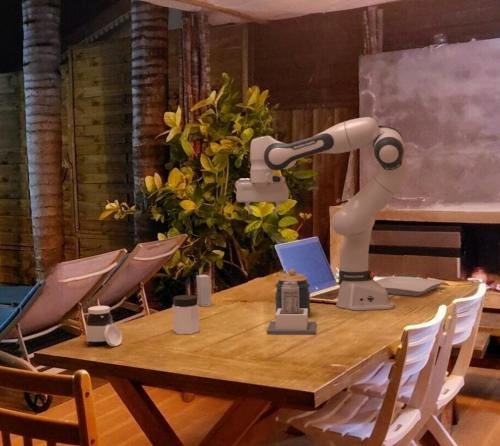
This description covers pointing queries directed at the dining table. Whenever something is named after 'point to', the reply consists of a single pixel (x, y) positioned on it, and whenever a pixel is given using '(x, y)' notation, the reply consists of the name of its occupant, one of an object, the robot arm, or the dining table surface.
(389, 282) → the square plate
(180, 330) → the jar
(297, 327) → the sleeve mount
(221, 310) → the dining table surface
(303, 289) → the canister
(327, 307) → the dining table surface
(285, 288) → the energy drink can
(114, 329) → the spread jar
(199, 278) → the skincare box
